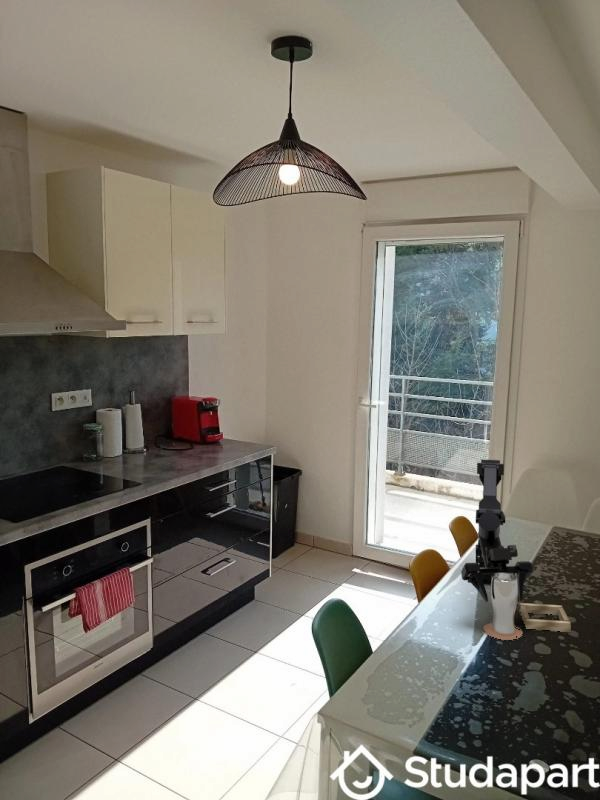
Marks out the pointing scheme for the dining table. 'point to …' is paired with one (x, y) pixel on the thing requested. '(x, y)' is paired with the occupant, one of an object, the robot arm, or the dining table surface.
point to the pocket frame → (550, 625)
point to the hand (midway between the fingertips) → (504, 600)
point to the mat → (503, 637)
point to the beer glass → (504, 602)
